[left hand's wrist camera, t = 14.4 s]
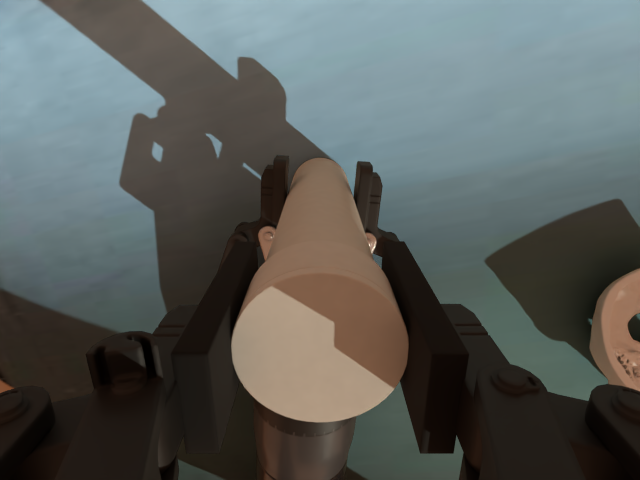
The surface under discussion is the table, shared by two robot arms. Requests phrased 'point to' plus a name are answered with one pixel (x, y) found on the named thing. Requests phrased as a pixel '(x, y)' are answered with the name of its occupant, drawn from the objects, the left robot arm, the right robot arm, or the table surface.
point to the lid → (319, 333)
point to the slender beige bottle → (320, 209)
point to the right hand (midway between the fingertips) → (322, 161)
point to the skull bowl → (617, 332)
